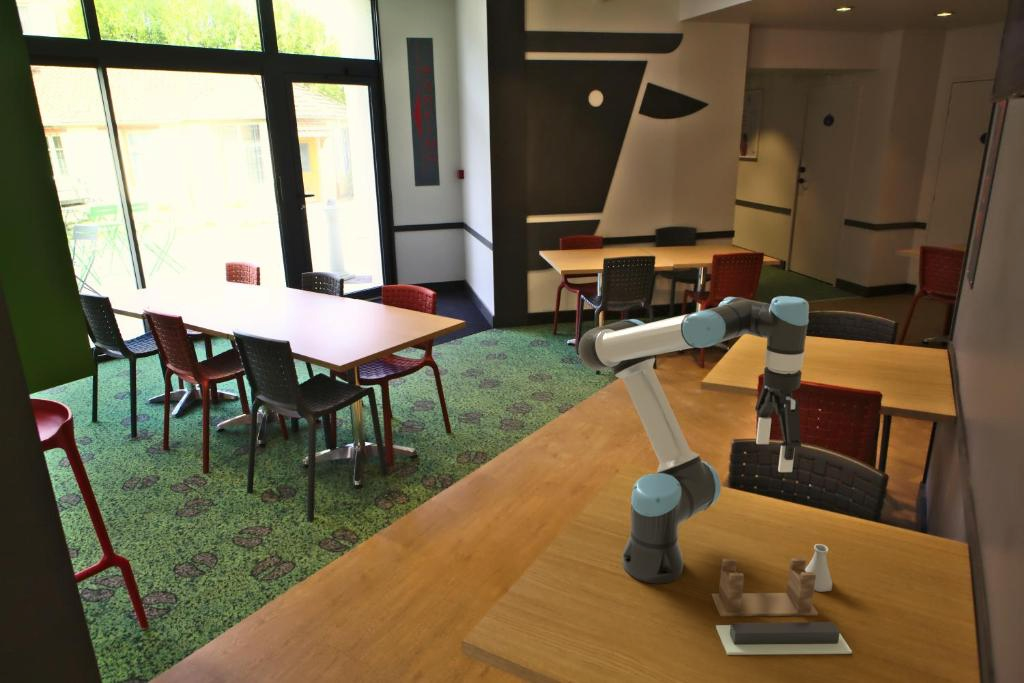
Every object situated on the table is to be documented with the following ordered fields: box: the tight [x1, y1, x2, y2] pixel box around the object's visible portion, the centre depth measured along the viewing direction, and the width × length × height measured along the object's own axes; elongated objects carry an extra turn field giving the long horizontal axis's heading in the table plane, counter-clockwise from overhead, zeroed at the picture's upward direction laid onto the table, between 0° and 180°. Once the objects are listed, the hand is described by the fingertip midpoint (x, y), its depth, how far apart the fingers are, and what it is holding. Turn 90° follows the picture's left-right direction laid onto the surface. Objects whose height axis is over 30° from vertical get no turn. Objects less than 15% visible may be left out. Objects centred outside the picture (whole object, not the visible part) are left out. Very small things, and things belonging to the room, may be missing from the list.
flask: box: [805, 543, 833, 593], centre depth 156 cm, size 7×7×10 cm
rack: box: [711, 557, 819, 617], centre depth 149 cm, size 22×7×10 cm, turn 90°
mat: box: [715, 624, 853, 656], centre depth 139 cm, size 26×8×1 cm, turn 90°
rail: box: [730, 621, 841, 645], centre depth 139 cm, size 22×3×3 cm, turn 90°
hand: (773, 456), depth 146 cm, fingers open, 13 cm apart
